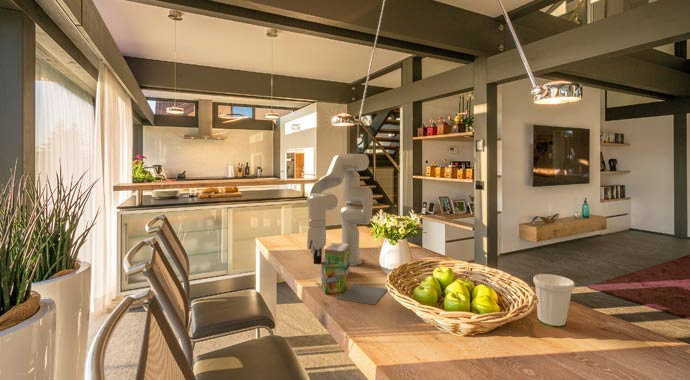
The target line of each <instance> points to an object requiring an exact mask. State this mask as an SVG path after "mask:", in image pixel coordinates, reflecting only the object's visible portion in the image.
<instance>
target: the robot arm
mask: <svg viewBox="0 0 690 380" xmlns="http://www.w3.org/2000/svg"><path fill="white" fill-rule="evenodd" d="M369 165H370V160H369V156H368V155H367V154H366V153H338V154H336V155H334V157H333V158H332V161H331V162H330V165H329V168H328V170H327V172H326V174H325V175H324V176H322V177H321V178H318V180H317V181H316V182H314V183H313V184H312V186H311V187H310V189H309V192H308V193H307V197H306V205H307V207H308V229H307V238H306V239H307V240H306V241H307V242H306V244H307V245H306V246H307V248H306V249H307V250H310V254H312V256H313V264H314V265H319V266H320V265H322V262H323V261H322V260H323V259H322V257H323V250H324V248H325V247H326V245H327V233H326V232H327V230H326V227H327V226H326V225H327V222H326V221H327V217H326V215H327V214H326V212H327V211H333V210H334V209H335V208H337V206H338V201H339V200H338V198H337V197H338V196H336V195H335V194H333V193H326V192H325V191H327V190H330V189H332V188H335V187H338V186H340V185H341V184H342V183H343V200H344V202H345V203H346V204H353V205H346V206H343V207H342V208H341V209H340V212H339V216H340V224H341V243H342V244H350V267H352V266H353V267H355V266H359V265H361V264H362V263H363V261H362V259H360V254H361V253H360V231H359V230H360V229H359V228H358V226H357V225H369V224H371V222H370V219H372V218H373V199H374V197H373V190H372V189H371V188H370V187H368V186H361V185H360V183H361V181H360V179H361V177H360V174H359V173H358V172H359V171H360V172H362V171H365V170H367V169H368V167H369ZM357 171H358V172H357ZM323 192H325V193H323ZM354 204H355V205H354ZM356 205H362V206H356ZM372 220H373V219H372Z"/></svg>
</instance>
